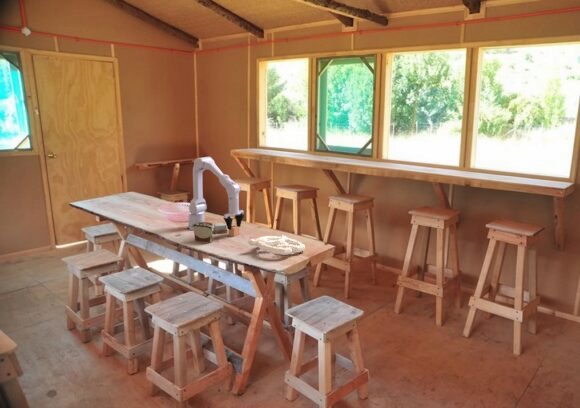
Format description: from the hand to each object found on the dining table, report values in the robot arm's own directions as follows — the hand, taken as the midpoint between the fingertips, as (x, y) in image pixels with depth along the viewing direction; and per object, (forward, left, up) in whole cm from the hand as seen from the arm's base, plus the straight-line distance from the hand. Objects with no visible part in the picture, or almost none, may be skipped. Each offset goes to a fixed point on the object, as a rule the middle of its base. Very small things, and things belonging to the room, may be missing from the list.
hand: (234, 227), depth 253 cm
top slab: (-6, +9, -3) cm, 11 cm away
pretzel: (+16, -33, -5) cm, 37 cm away
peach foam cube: (0, 0, -5) cm, 5 cm away
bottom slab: (-6, +9, -5) cm, 12 cm away
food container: (-17, -5, -5) cm, 19 cm away
